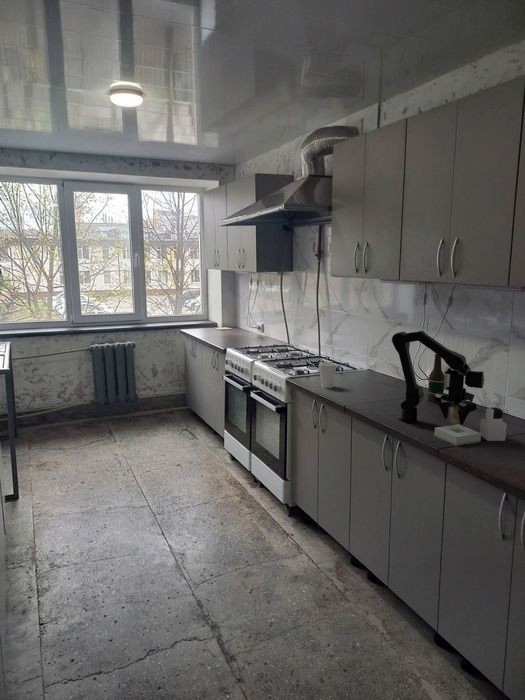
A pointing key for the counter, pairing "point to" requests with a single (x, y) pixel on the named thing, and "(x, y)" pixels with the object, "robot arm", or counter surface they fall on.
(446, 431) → the bore block
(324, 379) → the foam cup
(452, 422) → the dowel
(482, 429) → the medicine bottle
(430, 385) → the beer bottle
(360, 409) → the counter surface
